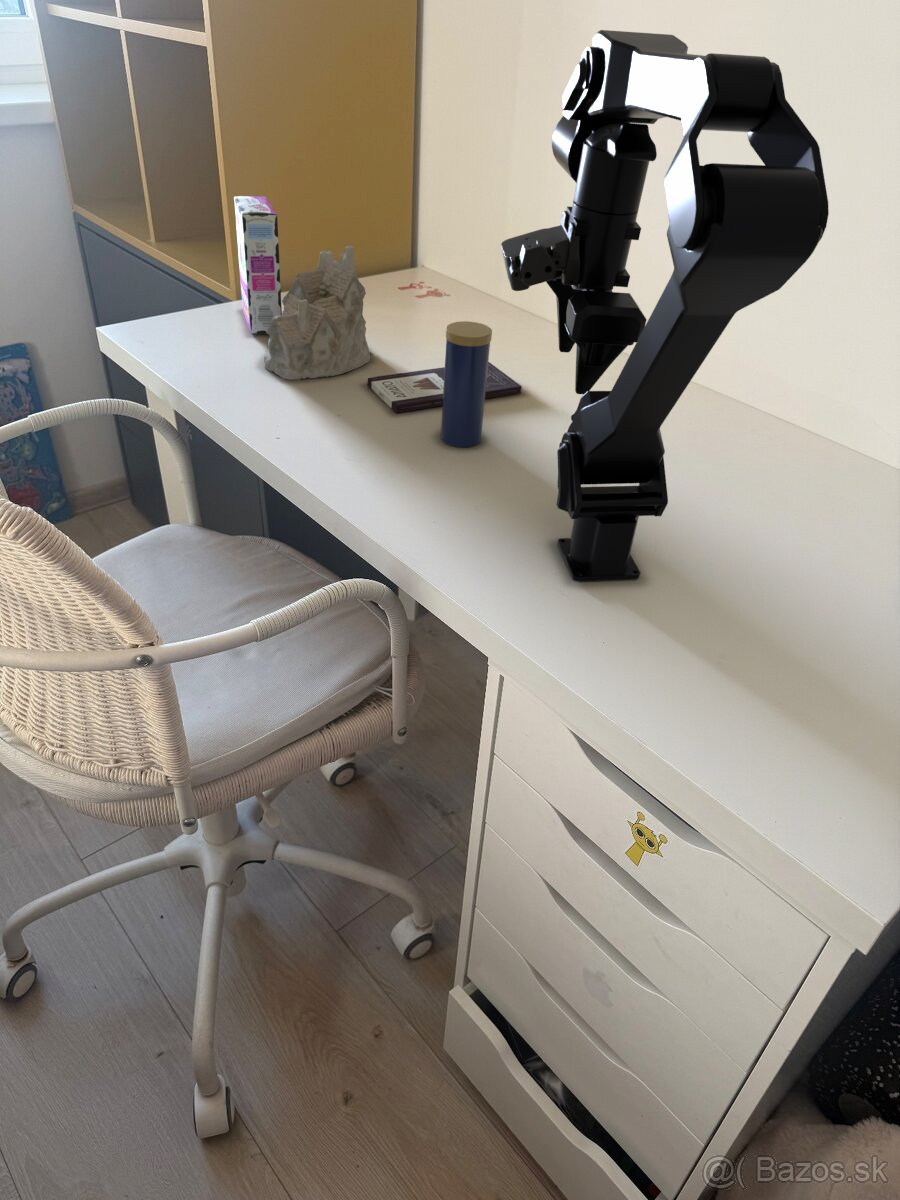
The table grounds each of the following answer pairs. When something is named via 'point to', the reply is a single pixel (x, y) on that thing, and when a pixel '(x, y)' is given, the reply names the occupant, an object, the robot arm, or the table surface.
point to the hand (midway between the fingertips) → (572, 371)
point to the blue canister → (465, 383)
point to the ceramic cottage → (320, 322)
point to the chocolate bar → (431, 388)
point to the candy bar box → (258, 261)
